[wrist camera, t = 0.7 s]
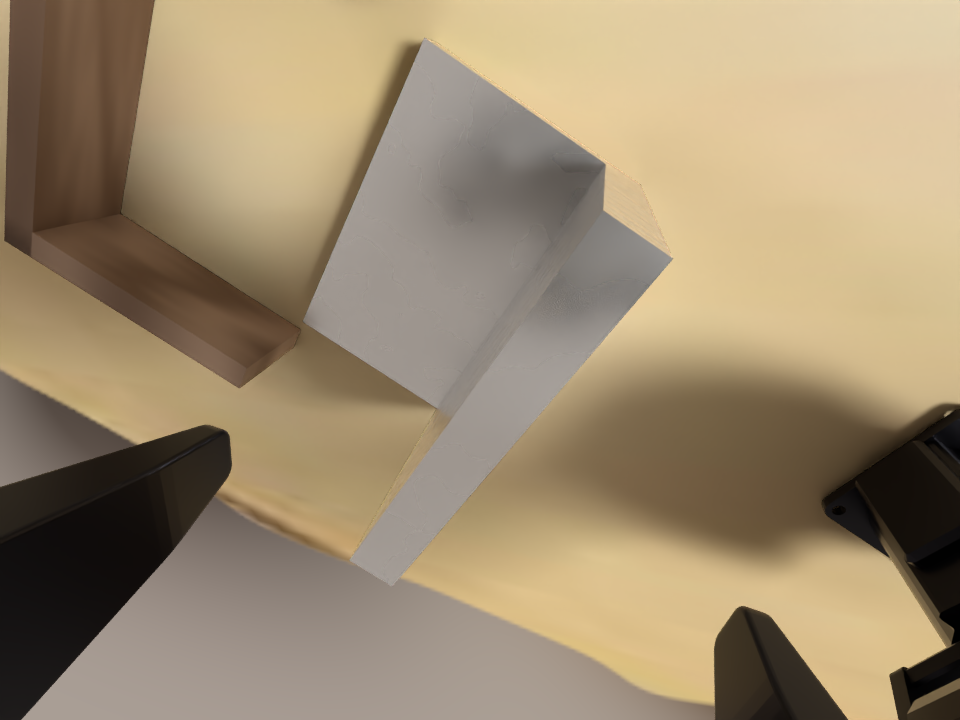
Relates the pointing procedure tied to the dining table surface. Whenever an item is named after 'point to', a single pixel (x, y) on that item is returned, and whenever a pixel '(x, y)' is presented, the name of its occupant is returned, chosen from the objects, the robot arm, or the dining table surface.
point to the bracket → (477, 281)
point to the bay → (110, 186)
